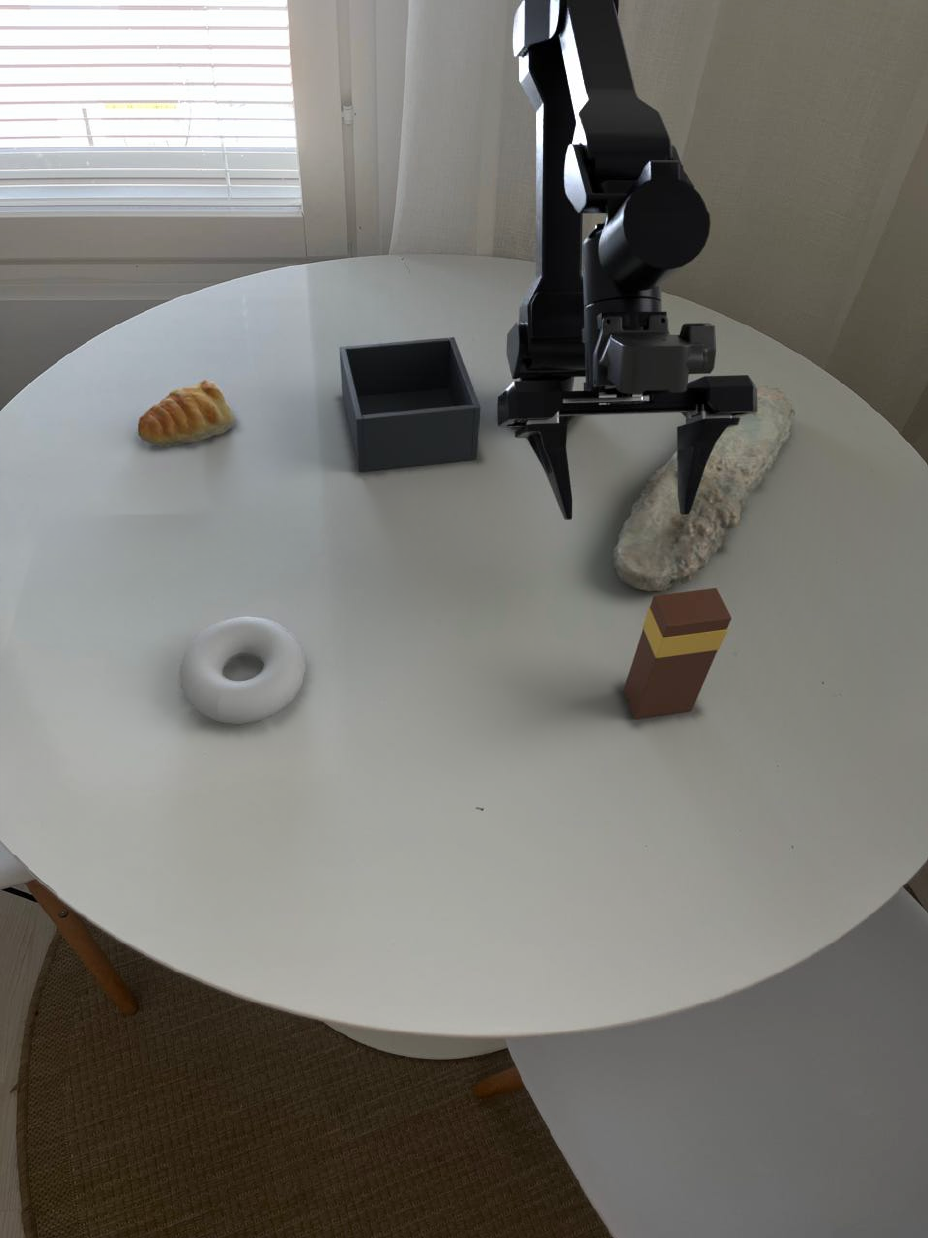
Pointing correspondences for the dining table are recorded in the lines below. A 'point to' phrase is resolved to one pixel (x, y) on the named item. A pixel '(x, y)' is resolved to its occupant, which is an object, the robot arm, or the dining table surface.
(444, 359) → the waste bin
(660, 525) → the long grey stone
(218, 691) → the donut
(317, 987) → the dining table surface
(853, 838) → the dining table surface
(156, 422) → the pastry
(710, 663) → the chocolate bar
